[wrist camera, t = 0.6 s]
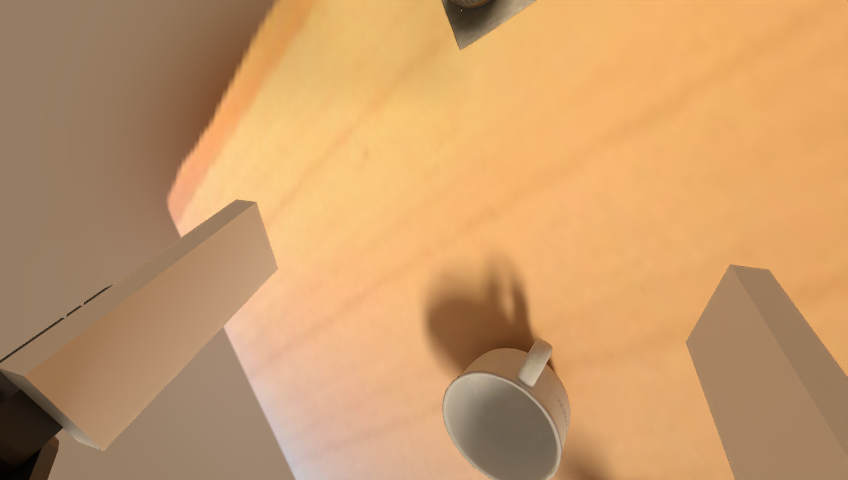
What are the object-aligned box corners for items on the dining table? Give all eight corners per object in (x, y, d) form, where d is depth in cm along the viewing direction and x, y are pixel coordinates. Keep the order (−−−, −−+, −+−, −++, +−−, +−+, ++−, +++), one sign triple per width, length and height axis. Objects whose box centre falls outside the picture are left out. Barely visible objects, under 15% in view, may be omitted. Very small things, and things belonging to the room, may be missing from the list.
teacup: (532, 448, 40) (512, 510, 33) (454, 377, 43) (420, 421, 36) (622, 368, 33) (620, 424, 27) (523, 291, 36) (498, 324, 30)
